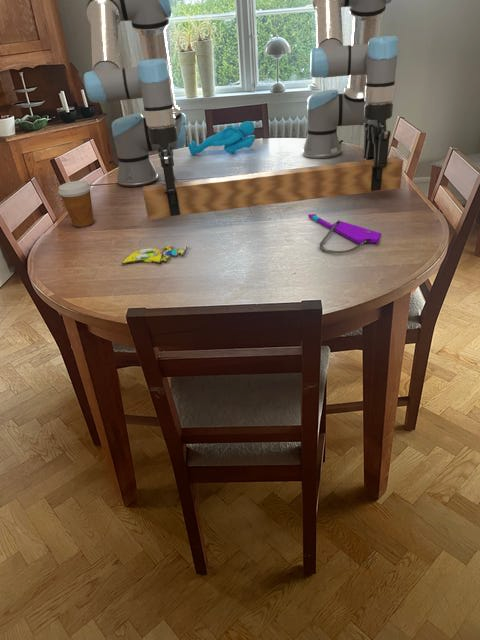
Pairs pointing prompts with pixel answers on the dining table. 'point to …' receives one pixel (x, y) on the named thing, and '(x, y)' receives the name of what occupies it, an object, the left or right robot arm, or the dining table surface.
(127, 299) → the dining table surface
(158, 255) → the toy
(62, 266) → the dining table surface
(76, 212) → the disposable coffee cup
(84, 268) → the dining table surface
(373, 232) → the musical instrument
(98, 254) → the dining table surface
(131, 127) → the left robot arm
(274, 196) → the beam
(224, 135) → the toy
